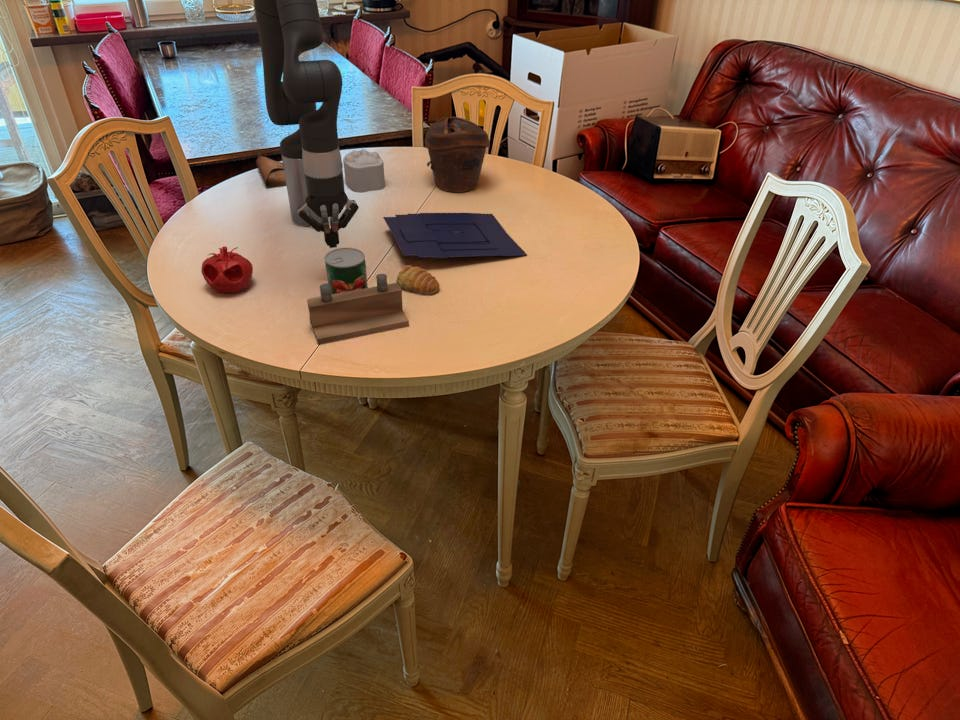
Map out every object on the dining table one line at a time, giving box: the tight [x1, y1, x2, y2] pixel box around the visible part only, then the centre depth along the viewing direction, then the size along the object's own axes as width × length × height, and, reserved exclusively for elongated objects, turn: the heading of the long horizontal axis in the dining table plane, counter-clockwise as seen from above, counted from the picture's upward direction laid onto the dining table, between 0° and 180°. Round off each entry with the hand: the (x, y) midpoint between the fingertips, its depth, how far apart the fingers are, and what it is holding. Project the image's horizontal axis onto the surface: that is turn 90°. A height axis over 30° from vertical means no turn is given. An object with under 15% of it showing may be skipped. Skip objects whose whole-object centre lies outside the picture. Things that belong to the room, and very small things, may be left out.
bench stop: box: [306, 273, 410, 345], centre depth 121 cm, size 8×18×9 cm, turn 113°
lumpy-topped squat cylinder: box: [342, 148, 386, 193], centre depth 177 cm, size 10×13×9 cm
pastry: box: [395, 264, 440, 296], centre depth 134 cm, size 9×7×4 cm
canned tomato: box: [323, 247, 369, 295], centre depth 126 cm, size 8×8×11 cm
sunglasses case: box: [255, 155, 287, 189], centre depth 181 cm, size 18×7×7 cm
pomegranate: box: [200, 246, 254, 294], centre depth 130 cm, size 10×10×9 cm
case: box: [424, 116, 491, 193], centre depth 176 cm, size 18×20×18 cm
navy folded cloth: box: [382, 212, 528, 259], centre depth 152 cm, size 24×30×4 cm
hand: (332, 245), depth 135 cm, fingers closed
